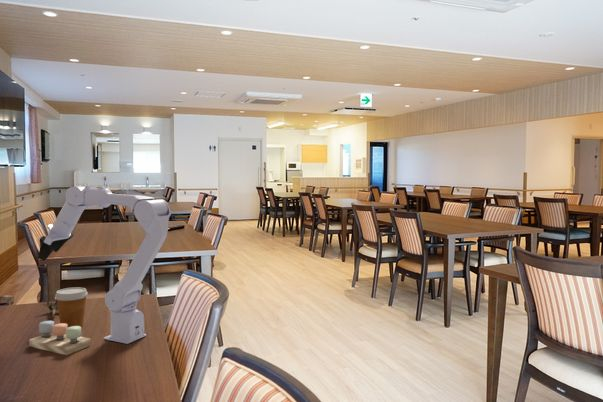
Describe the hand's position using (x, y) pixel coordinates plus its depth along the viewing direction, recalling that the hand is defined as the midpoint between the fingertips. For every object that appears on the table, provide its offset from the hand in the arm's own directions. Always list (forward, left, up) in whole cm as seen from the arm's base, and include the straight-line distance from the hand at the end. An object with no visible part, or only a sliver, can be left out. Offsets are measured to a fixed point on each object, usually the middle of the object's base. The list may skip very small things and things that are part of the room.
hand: (47, 254), depth 143 cm
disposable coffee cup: (-5, -4, -24) cm, 25 cm away
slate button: (-11, +9, -22) cm, 26 cm away
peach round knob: (-16, +9, -22) cm, 29 cm away
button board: (-16, +9, -24) cm, 30 cm away
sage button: (-22, +9, -22) cm, 32 cm away
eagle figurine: (+12, -13, -24) cm, 30 cm away
